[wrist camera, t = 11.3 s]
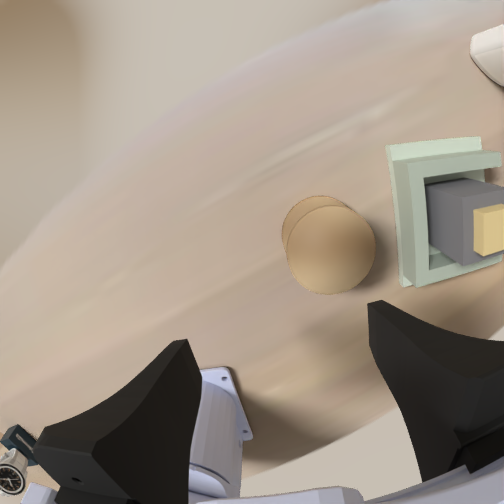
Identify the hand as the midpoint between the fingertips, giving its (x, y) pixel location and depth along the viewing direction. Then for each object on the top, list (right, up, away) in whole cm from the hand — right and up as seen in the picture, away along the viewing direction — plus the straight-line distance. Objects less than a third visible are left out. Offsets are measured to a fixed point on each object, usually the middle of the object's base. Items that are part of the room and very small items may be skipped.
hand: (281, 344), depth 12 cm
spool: (+3, +5, +9) cm, 11 cm away
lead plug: (+12, +7, +7) cm, 16 cm away
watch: (-34, -23, +19) cm, 45 cm away
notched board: (+13, +7, +8) cm, 16 cm away
